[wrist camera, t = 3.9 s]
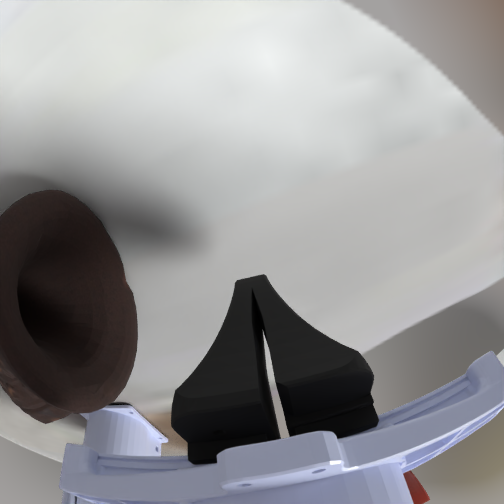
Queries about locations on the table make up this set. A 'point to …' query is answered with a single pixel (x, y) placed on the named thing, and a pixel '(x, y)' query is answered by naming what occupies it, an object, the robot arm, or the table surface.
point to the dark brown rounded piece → (62, 309)
